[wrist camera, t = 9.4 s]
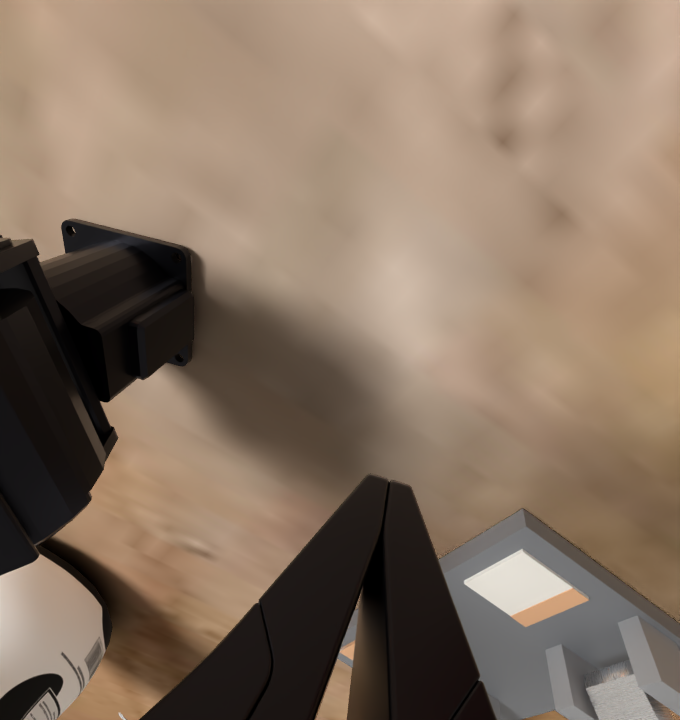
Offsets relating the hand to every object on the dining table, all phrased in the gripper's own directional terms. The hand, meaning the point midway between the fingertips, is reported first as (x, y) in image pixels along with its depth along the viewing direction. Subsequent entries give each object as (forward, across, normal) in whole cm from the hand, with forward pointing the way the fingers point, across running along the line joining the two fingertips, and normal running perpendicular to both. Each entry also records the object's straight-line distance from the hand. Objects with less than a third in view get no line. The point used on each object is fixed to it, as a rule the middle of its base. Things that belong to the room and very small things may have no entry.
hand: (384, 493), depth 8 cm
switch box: (+12, -10, +23) cm, 28 cm away
